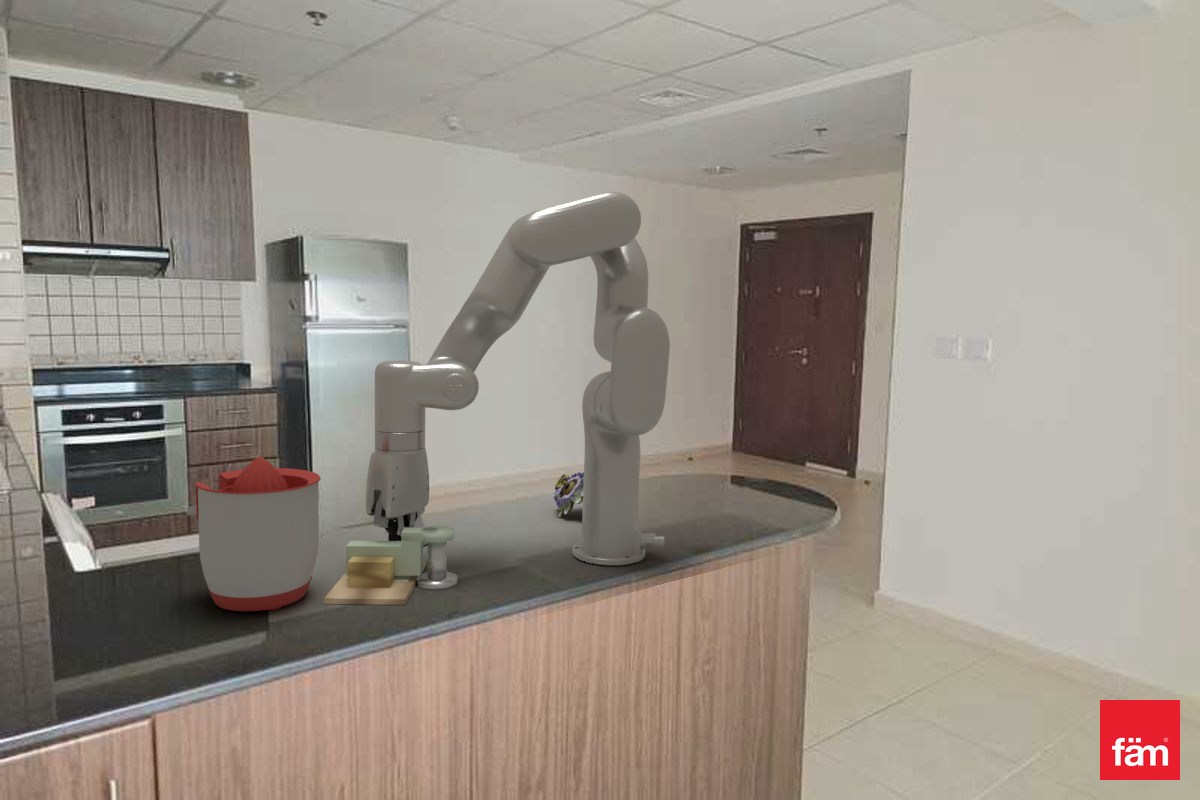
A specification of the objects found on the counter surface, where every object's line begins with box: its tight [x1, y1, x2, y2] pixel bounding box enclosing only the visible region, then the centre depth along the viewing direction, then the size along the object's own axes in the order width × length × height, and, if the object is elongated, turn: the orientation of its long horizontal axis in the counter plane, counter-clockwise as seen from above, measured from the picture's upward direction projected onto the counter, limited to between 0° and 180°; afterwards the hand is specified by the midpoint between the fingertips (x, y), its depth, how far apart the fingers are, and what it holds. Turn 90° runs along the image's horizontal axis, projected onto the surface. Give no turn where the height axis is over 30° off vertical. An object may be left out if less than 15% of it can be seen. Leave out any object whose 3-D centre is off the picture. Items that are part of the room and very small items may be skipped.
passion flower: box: [551, 471, 584, 517], centre depth 156 cm, size 11×11×12 cm
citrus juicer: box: [186, 456, 321, 612], centre depth 104 cm, size 16×17×20 cm
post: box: [416, 542, 458, 591], centre depth 114 cm, size 6×6×7 cm
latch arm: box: [345, 525, 455, 576], centre depth 113 cm, size 15×5×6 cm, turn 95°
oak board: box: [323, 556, 427, 606], centre depth 113 cm, size 11×17×4 cm, turn 3°
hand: (399, 557), depth 118 cm, fingers closed
